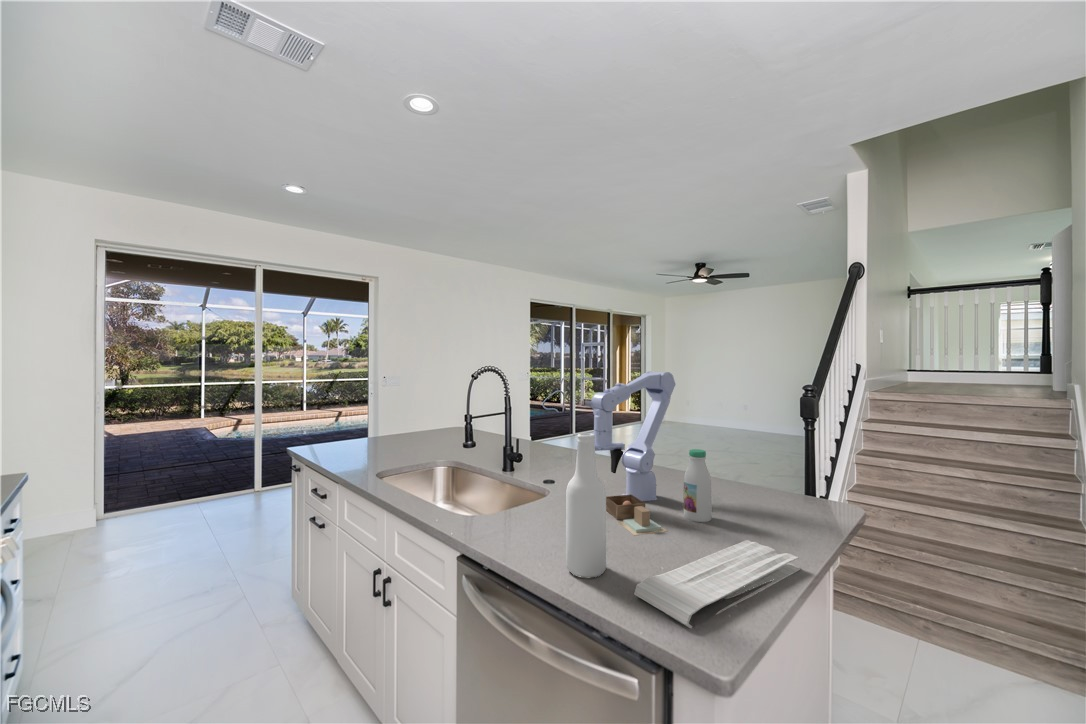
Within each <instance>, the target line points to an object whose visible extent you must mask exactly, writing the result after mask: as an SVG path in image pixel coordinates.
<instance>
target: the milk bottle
mask: <svg viewBox="0 0 1086 724" xmlns="http://www.w3.org/2000/svg"><path fill="white" fill-rule="evenodd" d="M688 452H689V453H688V454H689V456H688V457H689V463H688V465H687V468H686V470H685V473H684V477H683V517H684V519H686V520H687V521H689V522H695V523H708V522H709V521H712V477H711V474H710V472H709V469H708V467H707V465H706V456H707V452H706V450H704V449H698V448H697V449H696V448H695V449H689V451H688Z"/></svg>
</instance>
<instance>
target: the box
mask: <svg viewBox="0 0 1086 724" xmlns="http://www.w3.org/2000/svg"><path fill="white" fill-rule="evenodd" d="M625 501H630V502H631V503H632V504H628V505H623V503H624V502H625ZM637 506H643V507H644V508H646V502H645V501H641V500H639V499H638V498H636V497H635V496H633V495H631V494H630V495H622V494H620V495H609V496H607V495H606V513H608V514H609V515H610V516H612V518H614V519H615V520H616V521H620V520H622V521H623V520H627V519H634V507H637Z"/></svg>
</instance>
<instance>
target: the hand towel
mask: <svg viewBox="0 0 1086 724" xmlns="http://www.w3.org/2000/svg"><path fill="white" fill-rule="evenodd" d="M799 558H800V557H799V556H797V555H793V554H791V553H789V552H788V553H786V552H785V553H778V552H777V551H776V549H774V548H772V547H771V546H767V545H763V544H760V543H758V542H757V541H750V540H749V539H745V540H743V541H741V542H738V543H736V544H733V545H731V546H728V547H725V548H723V549H721V550H717V551H715V552H713V553H711V554H708V555H705V556H704V557H701V558H699V559H696V560H694V561H691V562H689V563H687V564H684V565H681V566H680V567H679V566H678V568H675V569H673V570H669V571H666V572H664V573H661V574H656V575H651V576H649V577H647V578H645V579H644V580H642V581H641V582H639V583H637V584H636V586H635V589H634V593H633V594H634V595H635V596H637V598H640V599H641V600H643V601H644V602H646V603H647V604H648V605H651V606H652V607H654V608H656V609H657V610H659V611H661V612H663V613H664V614H666V615H667V616H669V617H671V618H673V619H674V620H675V621H677V622H678V623H680V624H682V625H683V626H685V627H687V628H689V629H690V628H691V629H693V628H692V627H693V625H691V624H690V620H691V618H692V615H694V614H696V613H697V612H698V611H700V610H701V609H702V608H704V607H707V606H708V605H710V604H713V603H715V602H717V601H719V600H721V599H723V598H724V599H725V600H728V599H732V598H734V597H736V596H739V595H741V593H742V594H743V593H746V592H747V591H746V590H749V589H751V590H753V589H754V588H753V587H755V588H757V587H759V586H761V585H760V584H762V585H763V586H761V587H762V588H761V587H760V588H757V589H756V590H755V592H754V591H752V592H753V593H752V592H751V594H750V593H749V594H747V595H745V596H743V597H741V598H739V599H738V600H735V601H734V602H732V603H731V604H729V605H727V606H725V607H723V608H722V609H720V610H719V611H718V612H716V614H715V616H716V615H719V614H721V613H722V612H724V611H726V610H727V609H729V608H732V607H733V606H735V605H737V604H738V603H739V604H740V603H741V602H743V601H744V600H746V599H748V598H750V597H751V598H752V597H753V596H755V595H757V594H758V592H759V593H761V592H762V591H764V590H765V589H767V588H770V587H771V586H773V585H775V584H777V583H778V582H780V581H782V580H784V579H786V578H787V577H788V578H789V577H790V576H792V575H793V574H795V573H797V572H798V571H801V570H802V567H799V566H797V565H795V564H793V563H792V562H795V561H796V560H799ZM773 579H774V580H773ZM770 580H773V581H772V582H771V581H770ZM769 581H770V582H771V583H770V582H769ZM765 582H767V584H766V583H765ZM763 583H765V584H766V585H764V584H763ZM744 586H745V587H744ZM756 586H757V587H756ZM745 591H746V592H745ZM749 591H750V590H749ZM754 594H755V595H754Z"/></svg>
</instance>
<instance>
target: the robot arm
mask: <svg viewBox="0 0 1086 724" xmlns="http://www.w3.org/2000/svg"><path fill="white" fill-rule="evenodd" d="M614 385H615V386H612V387H610V388H605V390H603V392H596V393H594V394H593V396H592V398H591V400H590V401H589V403H590V407H591V409H592V412H593V413H592V414H593V415H594V416H593V434H594V435H595V452H597V451H599V452H602V451H609V452H610V453H609V454H610V473H612V474H616V473H617V470H618V465H619V463H620V460H621V464H622V466H623V467H624V471H626V475H625V476H626V478H625V485H626V487H625V488H626V489H625V492H626V493H621V495H630V494H631V495H633V496H635V497H636V498H638V499H639V500H641V501H642V502H645V501H646V502H648V501H658V498H657V478H656V474H655V473H654V471H653V470H652V469H653V467H654V460H655V456H656V453H655V451H654V449H653V448H652V447H653V444H654V442H655V440H656V436H657V434H658V432H659V429H660V427H661V424H662V422H663V420H664V417H665V415H666V412H667V410H668V408H669V405H670V403H671V397H672V395H673V392H674V390H675V387H676V381H675V379H674V375H673V373H671V372H668V371H666V372H663V371H662V372H661V371H646V372H645V373H642V374H641V375H640V376H638V377H637V378H635V379H634V380H632V381H630V382H628V383H627V384H626V383H621V382H616V383H615V384H614ZM643 389H645V390H646V392H647V393H648V396H649V397H650V398H651V399H652V401H651V403H650V406H649V408H648V409H649V410H648V412H647V414H646V416H645V419H644V421H643V424H642V426H641V428H640V431H639V433H638V435H637V437H636V439H635V441H633V442H632V443H630V444H628V446H627V448H626V443H623V442H613V411H615V409H616V408H617V406H618V405H620V404H621V403H624V402H626V401H627V400H629V399H630V398H631V394H634V393H636V392H639V391H641V390H643ZM625 449H626V450H625Z"/></svg>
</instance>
